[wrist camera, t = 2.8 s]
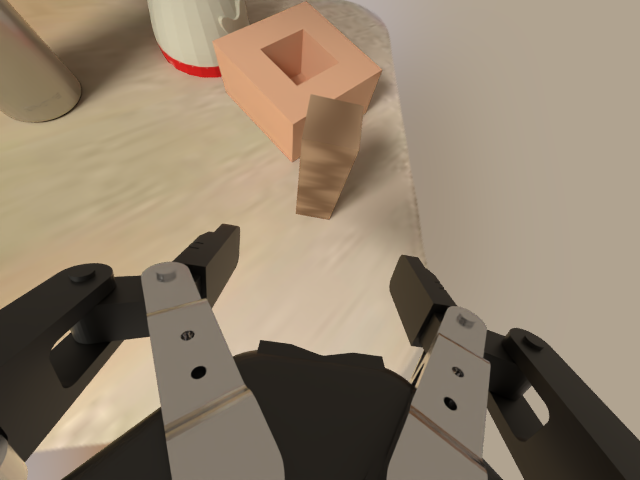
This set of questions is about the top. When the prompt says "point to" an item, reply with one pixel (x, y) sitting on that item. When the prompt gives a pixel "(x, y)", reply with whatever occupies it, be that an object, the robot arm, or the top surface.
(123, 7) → the top surface
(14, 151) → the top surface
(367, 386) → the robot arm
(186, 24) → the kitchen timer
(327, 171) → the walnut bar
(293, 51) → the terracotta well block
